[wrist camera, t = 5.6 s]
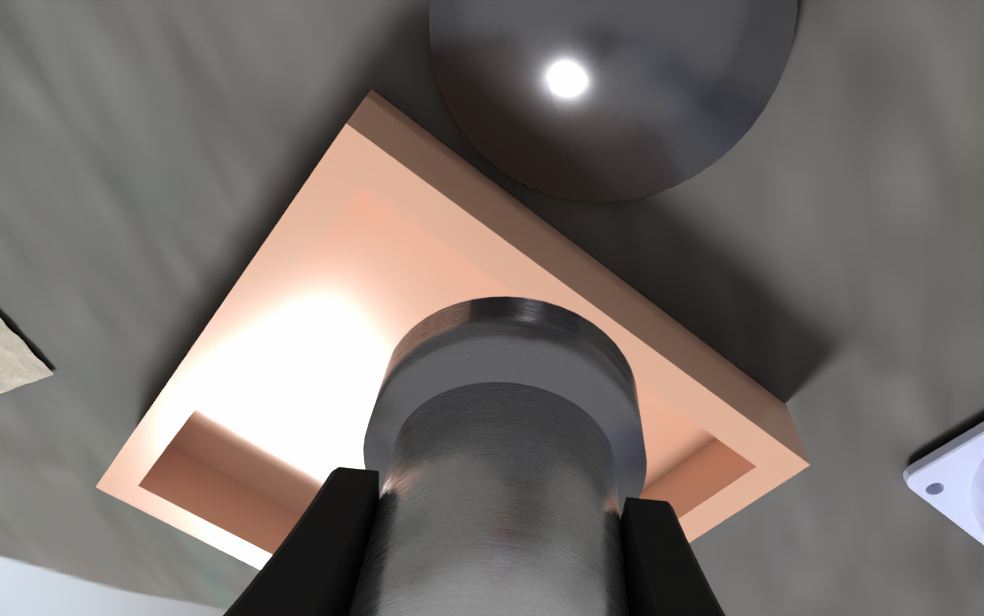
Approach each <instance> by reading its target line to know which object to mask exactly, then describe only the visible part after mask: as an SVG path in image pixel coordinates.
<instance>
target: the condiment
mask: <svg viewBox="0 0 984 616" xmlns="http://www.w3.org/2000/svg"><path fill="white" fill-rule="evenodd" d="M51 375H54V374H53V373H52V372H51V371H50V370H49V369H48V368H47V367H46V365H45V364H44V363H43V362H41V361H40V360H39V359H38V358H37V357H36V356H35V355H34V354H33V353H32V352H31V351H30V349H29V348H28V347H27V345H26V344H25V342H24V341H23V340H22V339H20V337H19V336H18V335H16V334H14V333H13V332H12V331H11V330H10V329H9V328H8V327H7V326H6V325H5V323H4V322H3V320H2V319H1V318H0V394H1V393H3V392H7V391H10V390H12V389H14V388H16V387H19V386H22V385H24V384H27V383H32V382H34V381H37V380H40V379H43V378H45V377H48V376H51Z"/></svg>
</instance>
